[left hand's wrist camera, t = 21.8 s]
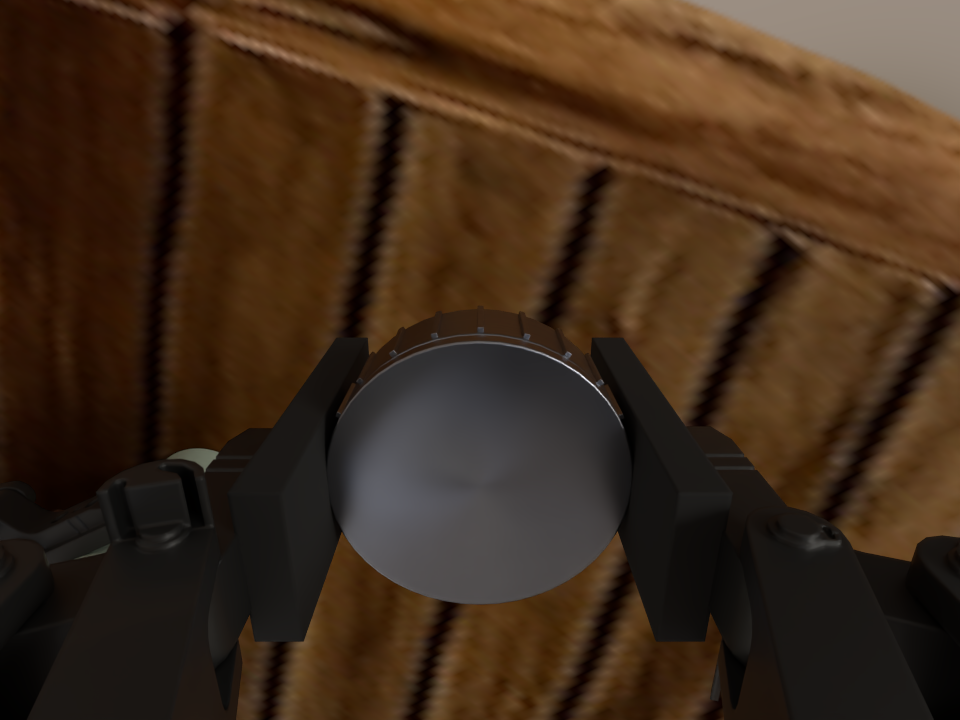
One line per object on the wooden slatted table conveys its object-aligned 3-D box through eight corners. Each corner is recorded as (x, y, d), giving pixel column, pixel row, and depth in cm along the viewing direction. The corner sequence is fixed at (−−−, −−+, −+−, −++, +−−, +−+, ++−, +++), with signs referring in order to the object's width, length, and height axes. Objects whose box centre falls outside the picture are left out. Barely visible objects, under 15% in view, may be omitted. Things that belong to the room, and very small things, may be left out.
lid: (621, 528, 13) (644, 591, 11) (374, 556, 13) (358, 621, 11) (607, 286, 11) (632, 315, 9) (315, 325, 11) (284, 361, 9)
